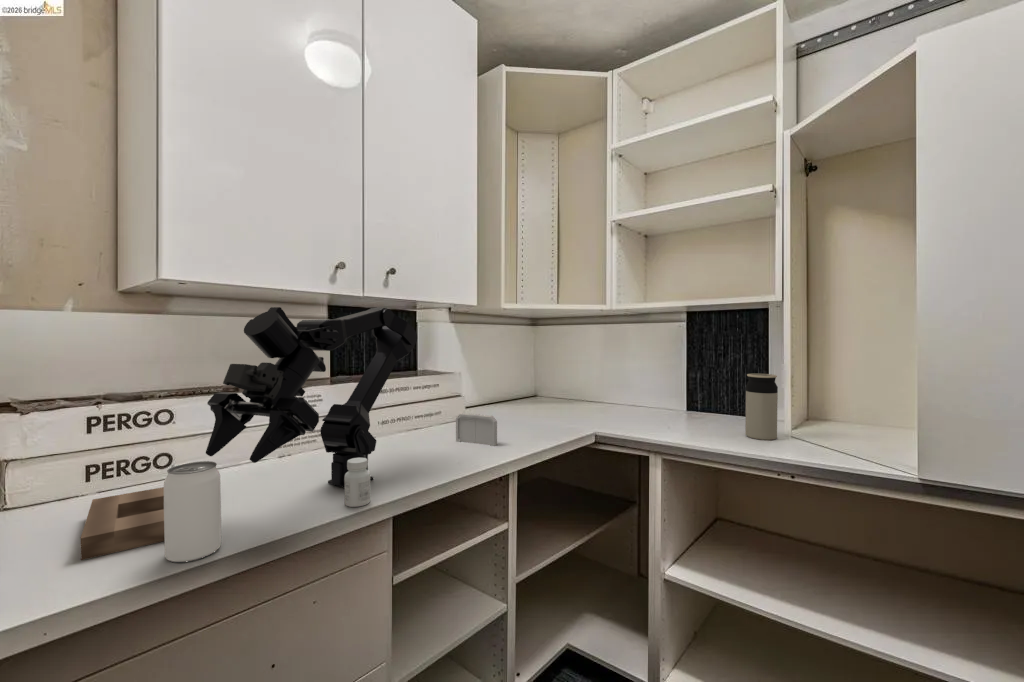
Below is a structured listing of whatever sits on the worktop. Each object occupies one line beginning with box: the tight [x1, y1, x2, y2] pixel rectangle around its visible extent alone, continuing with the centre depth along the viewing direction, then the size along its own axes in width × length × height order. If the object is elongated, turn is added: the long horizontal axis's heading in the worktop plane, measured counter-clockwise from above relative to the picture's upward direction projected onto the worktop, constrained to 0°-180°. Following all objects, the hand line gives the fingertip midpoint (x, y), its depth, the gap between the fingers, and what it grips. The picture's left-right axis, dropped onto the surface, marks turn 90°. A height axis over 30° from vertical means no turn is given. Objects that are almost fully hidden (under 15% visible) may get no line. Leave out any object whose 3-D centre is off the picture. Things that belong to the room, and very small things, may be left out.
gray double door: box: [455, 412, 498, 447], centre depth 124 cm, size 2×12×8 cm, turn 65°
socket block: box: [80, 486, 165, 561], centre depth 72 cm, size 12×18×3 cm, turn 39°
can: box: [163, 460, 222, 563], centre depth 63 cm, size 6×6×12 cm
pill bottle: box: [344, 458, 372, 508], centre depth 81 cm, size 4×4×8 cm
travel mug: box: [744, 373, 779, 441], centre depth 130 cm, size 8×8×18 cm
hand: (229, 458), depth 68 cm, fingers open, 9 cm apart
